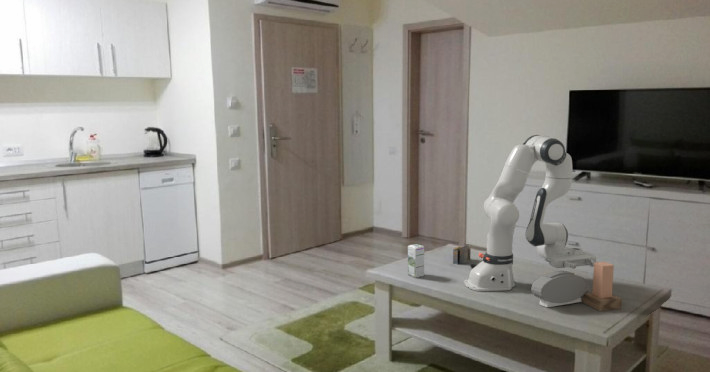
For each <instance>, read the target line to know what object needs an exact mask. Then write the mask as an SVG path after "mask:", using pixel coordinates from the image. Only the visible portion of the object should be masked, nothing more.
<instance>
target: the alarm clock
mask: <svg viewBox="0 0 710 372" xmlns="http://www.w3.org/2000/svg"><path fill="white" fill-rule="evenodd" d="M530 290H531V293H532V294H533V295H534V296H535V297H536V298H538V299H539V305H540V306H543V307H545V308H551V307H557V306H563V305H570V304H575V303H582V298H581V297H583V295H584V294H585V293H586V292H588V290H589V282H588V280H587V279H586V278H585V277H583V276H580V275H576V274H575V273H574V272H571V271H567V270H566V271H565V270H556V271H555V270H554V271H552V272H549V273H547V274H545V275H543V276H540V277H538V278H537V279H536V280H535V281H533V283H532V285H531V289H530Z"/></svg>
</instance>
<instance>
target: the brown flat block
mask: <svg viewBox="0 0 710 372" xmlns="http://www.w3.org/2000/svg"><path fill="white" fill-rule="evenodd" d="M471 248H472V247H471V245H463V246H461V245H459V246H457V247H453V252H452V264H453V265H458V264H462V263H465V262H468V261H471V250H472V249H471Z"/></svg>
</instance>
